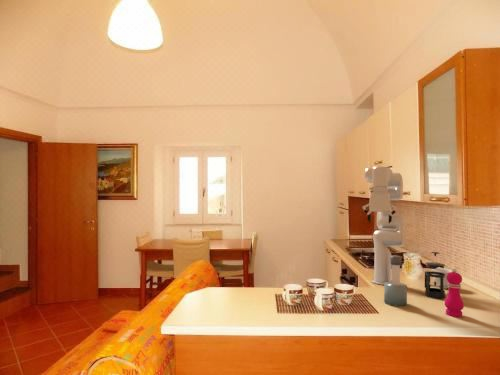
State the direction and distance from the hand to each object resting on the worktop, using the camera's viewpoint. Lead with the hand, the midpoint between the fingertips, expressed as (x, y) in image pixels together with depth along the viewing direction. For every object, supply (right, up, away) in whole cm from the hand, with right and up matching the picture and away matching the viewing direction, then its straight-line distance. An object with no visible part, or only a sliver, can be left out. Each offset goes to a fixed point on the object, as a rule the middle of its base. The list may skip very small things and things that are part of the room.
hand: (379, 222), depth 180 cm
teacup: (+45, -40, +20) cm, 63 cm away
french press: (+29, -39, 0) cm, 48 cm away
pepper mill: (+21, -37, -30) cm, 52 cm away
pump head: (+3, -27, -13) cm, 30 cm away
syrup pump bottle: (+2, -37, -15) cm, 40 cm away
